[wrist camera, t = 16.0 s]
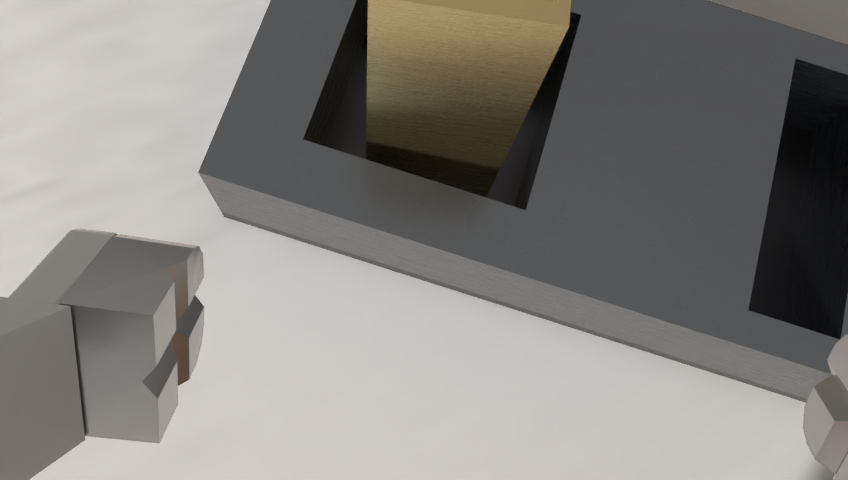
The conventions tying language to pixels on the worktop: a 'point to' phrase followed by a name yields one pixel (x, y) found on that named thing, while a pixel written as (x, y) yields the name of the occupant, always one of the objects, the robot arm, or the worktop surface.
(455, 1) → the tan rectangular block
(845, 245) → the block
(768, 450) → the worktop surface
